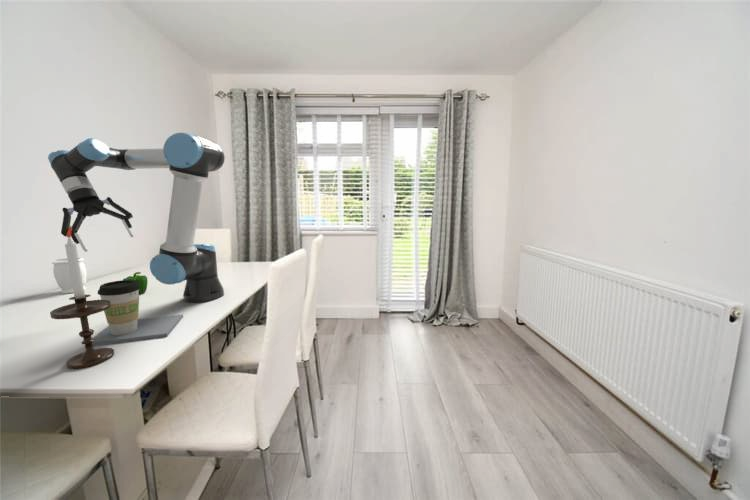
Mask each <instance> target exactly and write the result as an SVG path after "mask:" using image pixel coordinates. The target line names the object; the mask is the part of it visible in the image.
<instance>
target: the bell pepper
mask: <svg viewBox="0 0 750 500" xmlns="http://www.w3.org/2000/svg"><path fill="white" fill-rule="evenodd" d="M141 273H142V272H141V271H137V272H134V273H133V275H132V276H131V275H129V276H127V277H125V278H123V279H122V280H134V281H137V283H138V285H140V289H139V294H138V295H142V294H145V293H146V291H147V288H148V277H147V275H141Z"/></svg>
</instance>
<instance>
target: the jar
mask: <svg viewBox="0 0 750 500" xmlns="http://www.w3.org/2000/svg"><path fill="white" fill-rule="evenodd" d="M78 259H79V265H80V270H81V276H82V282H83V287H84V291H86V289H87V286H86V283H87V268H86V265H85V263H84V261H85V258H84V257H78ZM51 264H53V268H52V269H53V270H52V271H53V277H54V279H55V281H56V284H57V287H59V288H60V289H61V290H60V294H74V291H73V286H72V280H71V275H70V270H69V264H68V259H67V257H66V258H59V259H54V260H52V261H51Z"/></svg>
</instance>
